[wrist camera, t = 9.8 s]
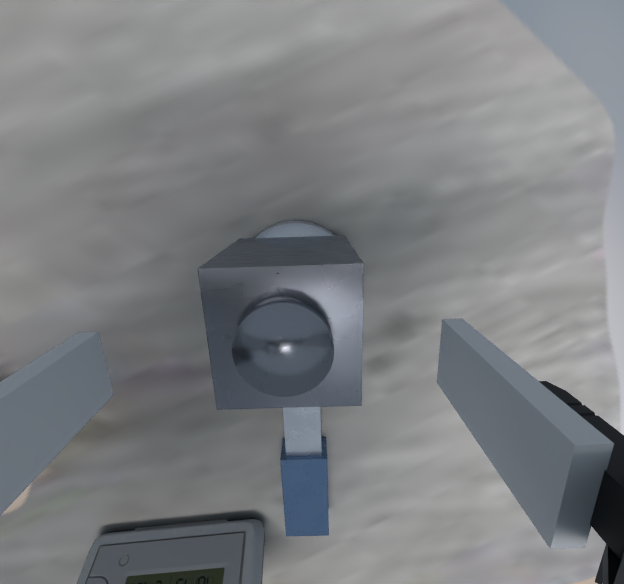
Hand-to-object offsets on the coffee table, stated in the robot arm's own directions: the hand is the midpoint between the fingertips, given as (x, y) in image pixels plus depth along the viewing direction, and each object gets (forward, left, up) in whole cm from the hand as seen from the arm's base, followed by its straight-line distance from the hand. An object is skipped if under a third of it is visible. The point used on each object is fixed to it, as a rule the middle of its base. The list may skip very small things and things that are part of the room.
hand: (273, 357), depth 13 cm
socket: (0, 0, -9) cm, 9 cm away
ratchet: (0, -9, -12) cm, 15 cm away
